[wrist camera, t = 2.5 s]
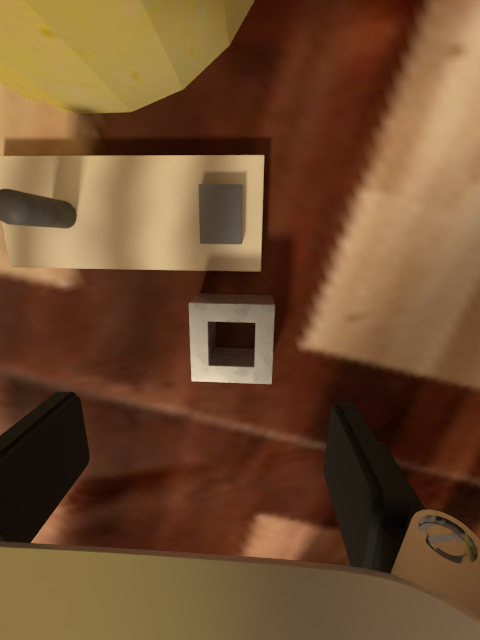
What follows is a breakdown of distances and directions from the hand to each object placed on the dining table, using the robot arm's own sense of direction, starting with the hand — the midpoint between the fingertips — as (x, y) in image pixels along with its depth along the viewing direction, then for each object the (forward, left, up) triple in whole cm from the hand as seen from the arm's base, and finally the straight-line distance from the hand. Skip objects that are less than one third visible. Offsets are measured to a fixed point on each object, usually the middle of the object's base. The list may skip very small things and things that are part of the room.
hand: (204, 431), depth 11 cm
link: (0, 0, -15) cm, 14 cm away
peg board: (+8, -9, -14) cm, 19 cm away
